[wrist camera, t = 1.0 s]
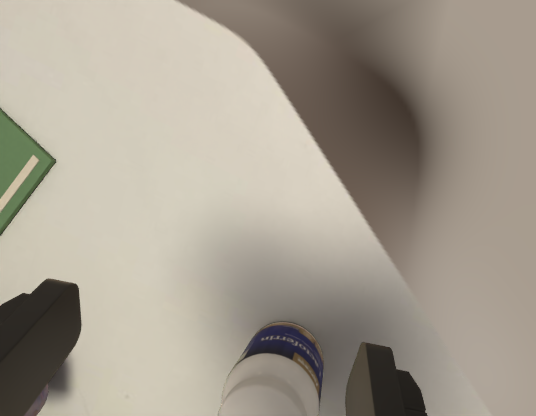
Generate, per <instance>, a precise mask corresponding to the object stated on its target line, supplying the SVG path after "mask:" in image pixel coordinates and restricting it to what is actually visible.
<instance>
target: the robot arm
mask: <svg viewBox="0 0 536 416" xmlns="http://www.w3.org/2000/svg"><path fill="white" fill-rule="evenodd" d="M80 332H81V312H80V299H79V288H78V286H77V284H74V283H70V282H65V281H60V280H55V279H46V280H45V281H43V282H42V283H41V284H40V285H39V286H38V287H37V288H36V289H35V290H34V291H33V292H32V293H31V294H25V293H22V294H21V295H19V296H17V297H15V298H13V299H11V300H9V301H7V302H6V303H4V304H2V305H1V306H0V416H24V415H25V414H26V413H27V411H28V410H29V409H30V407H31V406H32V404H33V403H34V402H35V400H36V399H37V398H38V396H39V395H40V393H41V392H42V391H43V389H44V388H45V387H46V385H47V384H48V382H49V381H50V380H51V378H52V377H53V375H54V374H55V373H56V371H57V370H58V369H59V367H60V366H61V364H62V363H63V362H64V360H65V359H66V358H67V356H68V355H69V353H70V352H71V351H72V349H73V348H74V346H75V345H76V343H77V341H78V338H79V335H80ZM345 405H346V416H427V413H425V410H426V408H425V405H424V401H423V397H422V393H421V390H420V388H419V387H418V385H417V384H416V382H415V381H414V379H413V378H412V376H411V375H410V373H409V372H407V371H402V370H397V369H396V366H395V361H394V356H393V352H392V349H391V348H390V347H385V346H380V345H375V344H370V343H365V342H363V343H362V344H361V345H360V348H359V351H358V353H357V356H356V359H355V362H354V365H353V368H352V370H351V373H350V376H349V379H348V383H347V388H346V397H345Z"/></svg>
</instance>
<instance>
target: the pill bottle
mask: <svg viewBox="0 0 536 416" xmlns="http://www.w3.org/2000/svg"><path fill="white" fill-rule="evenodd" d="M322 378H323V355H322V351H321V349H320V346H319V344H318V342H317V341H316V339H315V338H314V337H313V336H312V335H311V334H310V333H309V332H308V331H307V330H306V329H304V328H303V327H301V326H299V325H296V324H293V323H287V322H277V323H273V324H270V325H268V326H266V327H264V328H262V329H261V330H260V331H259V332H257V333H256V335H255V336H254V337H253V338H252V340H251V341H250V343H249V344H248V346H247V347H246V349H245V351H244V352H243V354H242V355H241V357H240V358H239V360H238V361H237V363H236V364H235V366H234V367H233V369H232V370H231V372H230V374H229V375H228V377H227V379H226V382H225V384H224V388H223V392H222V405H221V407H220V409H219V412H218V416H318V415H319V408H320V397H321V387H322Z"/></svg>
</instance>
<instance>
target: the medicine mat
mask: <svg viewBox="0 0 536 416" xmlns="http://www.w3.org/2000/svg"><path fill="white" fill-rule="evenodd" d="M55 162H56V161H55V160H54V159H53V158H52V157H51V156H50V155H49V154H48V153H47V152H46V151H45V150H44V149H42V148H41V147H40V146H39V145H38V144H37V143H36V142H35V141H34V140H33V139H32V138H31V137H30V136H29V135H28V134H26V133H25V132H24V131H23V130H22V129H21V128H20V127H19V126H18V125H17V124H16V123H15V122H14V121H13V120H12V119H10V118H9V117H8V116H7V115H6V114H5V113H4V112H3V111H2V110H1V109H0V235H1V233H2V232H3V231H4V229H5V228H6V227H7V225H8V224H9V223H10V221H11V220H12V219H13V217H14V216H15V215H16V213H17V212H18V211H19V209H20V208H21V207H22V205H23V204H24V203H25V201H26V200H27V199H28V197H29V196H30V195H31V193H32V192H33V191H34V189H35V188H36V187H37V186H38V184H39V183H40V182H41V180H42V179H43V178H44V176H45V175H46V174H47V172H48V171H49V170H50V168H51V167H52V166H53V164H54V163H55Z"/></svg>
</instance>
